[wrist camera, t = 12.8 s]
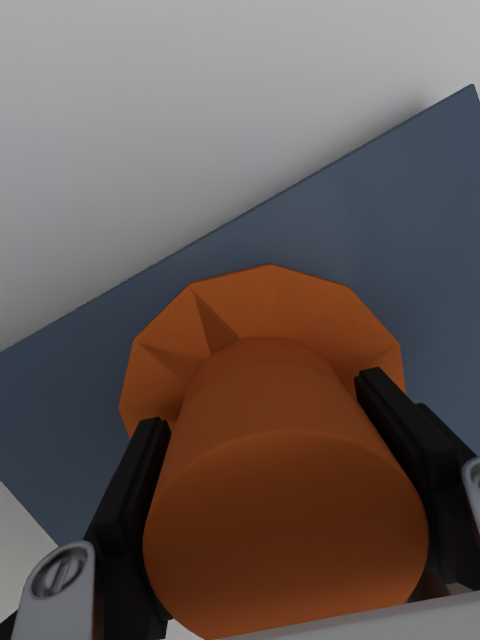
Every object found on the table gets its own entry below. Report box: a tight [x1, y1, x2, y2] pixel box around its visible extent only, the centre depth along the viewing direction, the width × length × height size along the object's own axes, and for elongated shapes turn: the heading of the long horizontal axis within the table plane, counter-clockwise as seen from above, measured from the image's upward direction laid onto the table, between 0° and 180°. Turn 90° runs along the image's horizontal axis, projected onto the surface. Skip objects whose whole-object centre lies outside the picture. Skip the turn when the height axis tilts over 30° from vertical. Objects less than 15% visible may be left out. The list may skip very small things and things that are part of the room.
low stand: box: [0, 84, 480, 547], centre depth 14 cm, size 20×12×2 cm, turn 119°
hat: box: [119, 263, 429, 640], centre depth 10 cm, size 10×10×6 cm
